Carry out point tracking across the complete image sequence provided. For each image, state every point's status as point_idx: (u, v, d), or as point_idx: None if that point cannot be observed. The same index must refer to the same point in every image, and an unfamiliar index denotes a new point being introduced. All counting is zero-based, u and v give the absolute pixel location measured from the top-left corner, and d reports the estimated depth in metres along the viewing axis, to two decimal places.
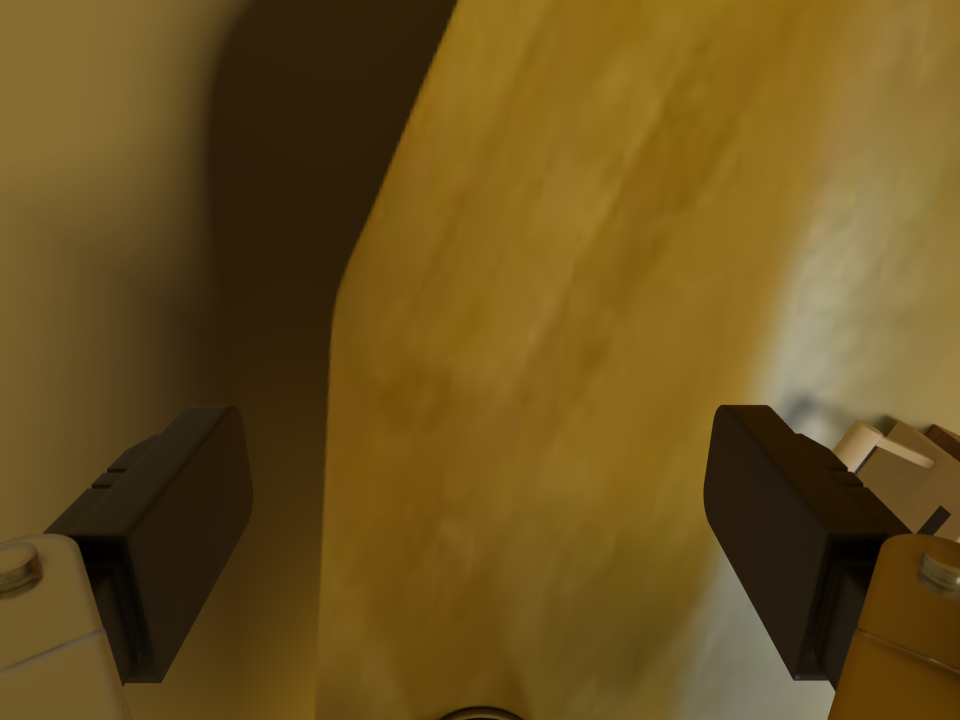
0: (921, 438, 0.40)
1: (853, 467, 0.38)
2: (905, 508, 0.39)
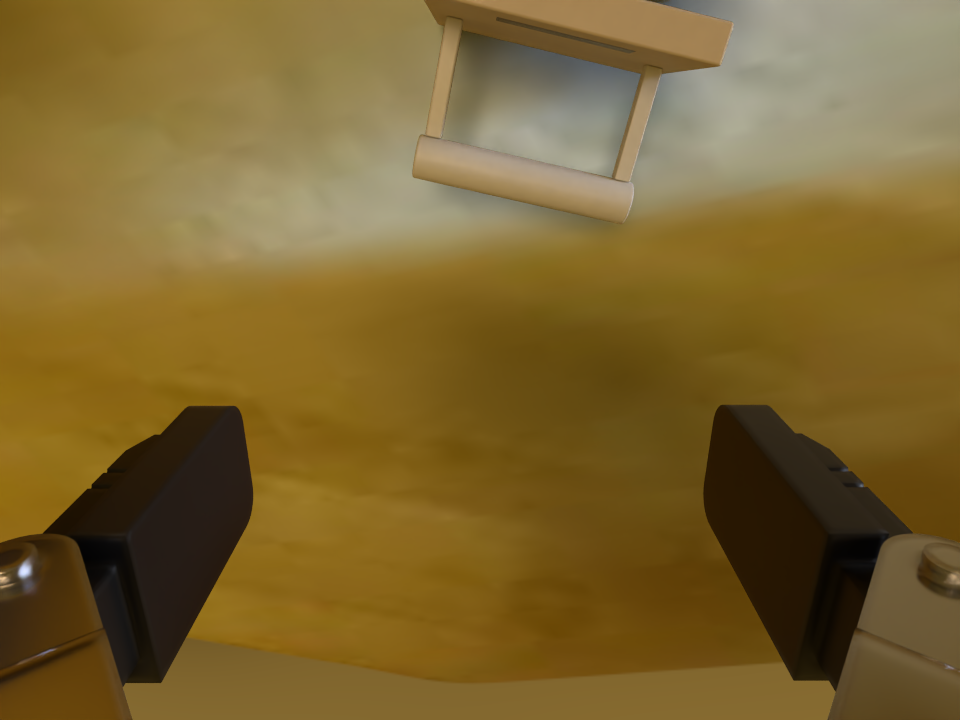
0: (434, 16, 0.24)
1: (480, 167, 0.24)
2: (539, 36, 0.22)
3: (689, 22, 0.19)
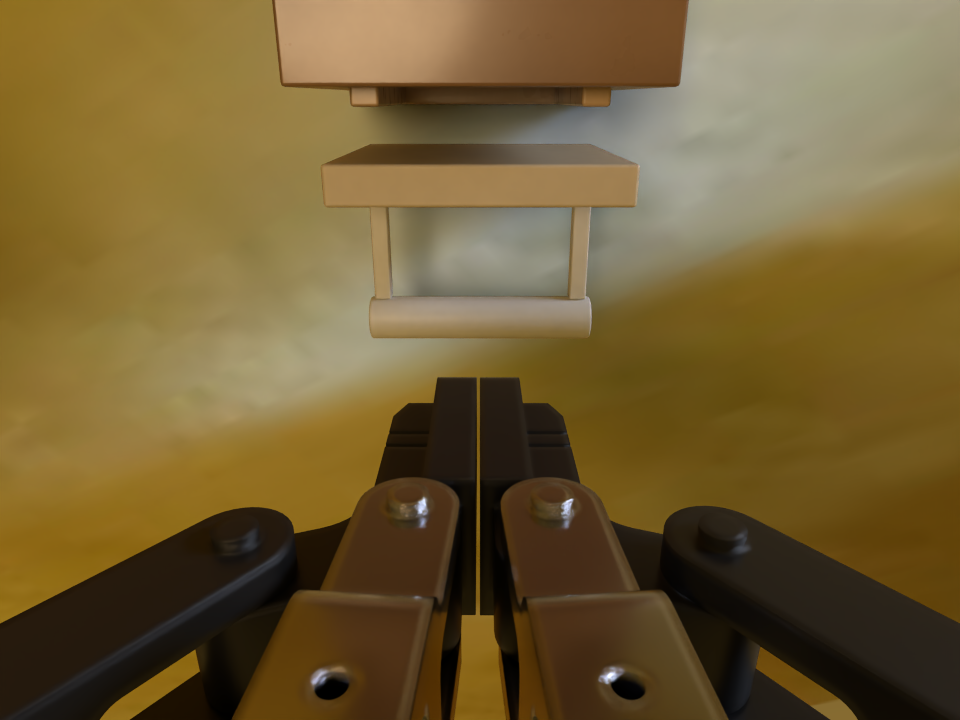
0: None
1: (434, 319, 0.24)
2: None
3: (594, 174, 0.19)
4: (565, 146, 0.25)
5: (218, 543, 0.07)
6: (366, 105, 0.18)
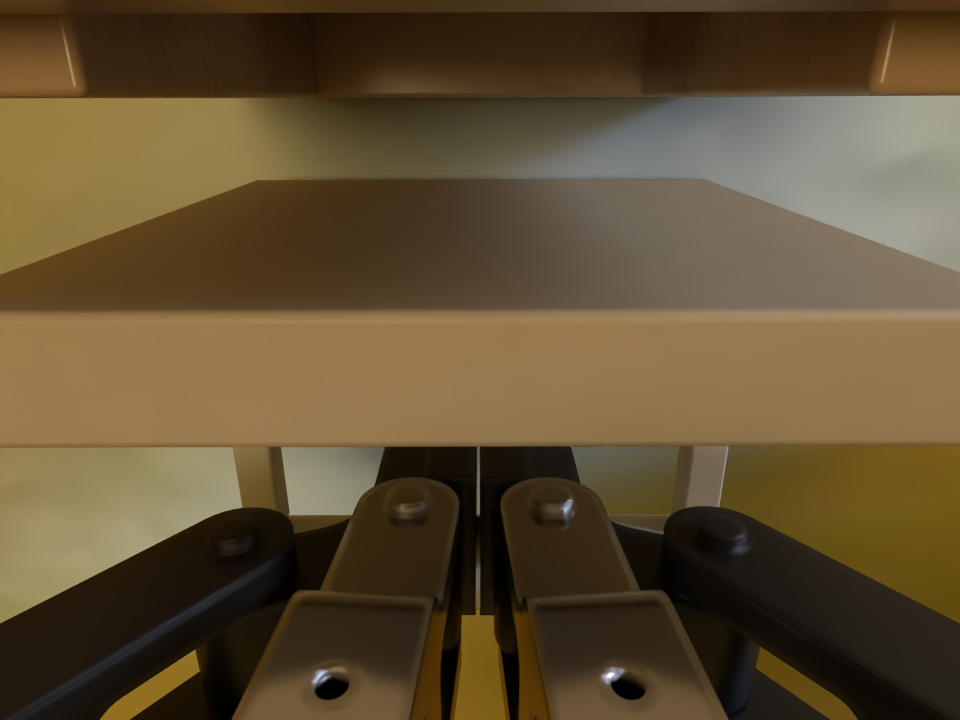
0: None
1: None
2: None
3: (894, 345, 0.05)
4: (663, 188, 0.12)
5: (219, 543, 0.07)
6: (39, 92, 0.05)
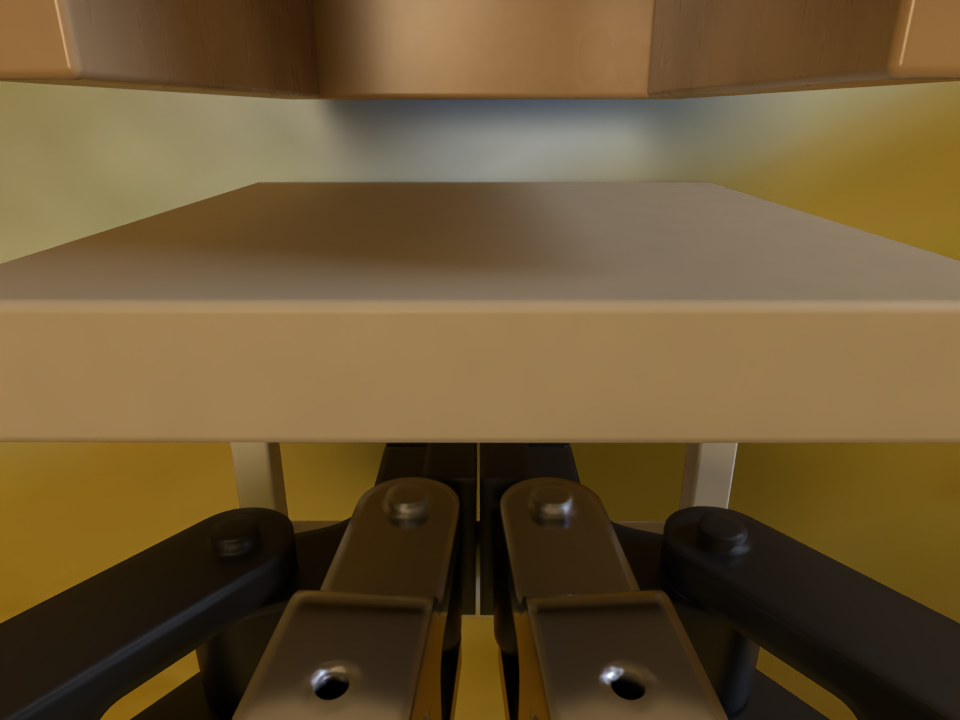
0: None
1: None
2: None
3: (914, 338, 0.05)
4: (668, 190, 0.12)
5: (219, 544, 0.07)
6: (34, 74, 0.05)
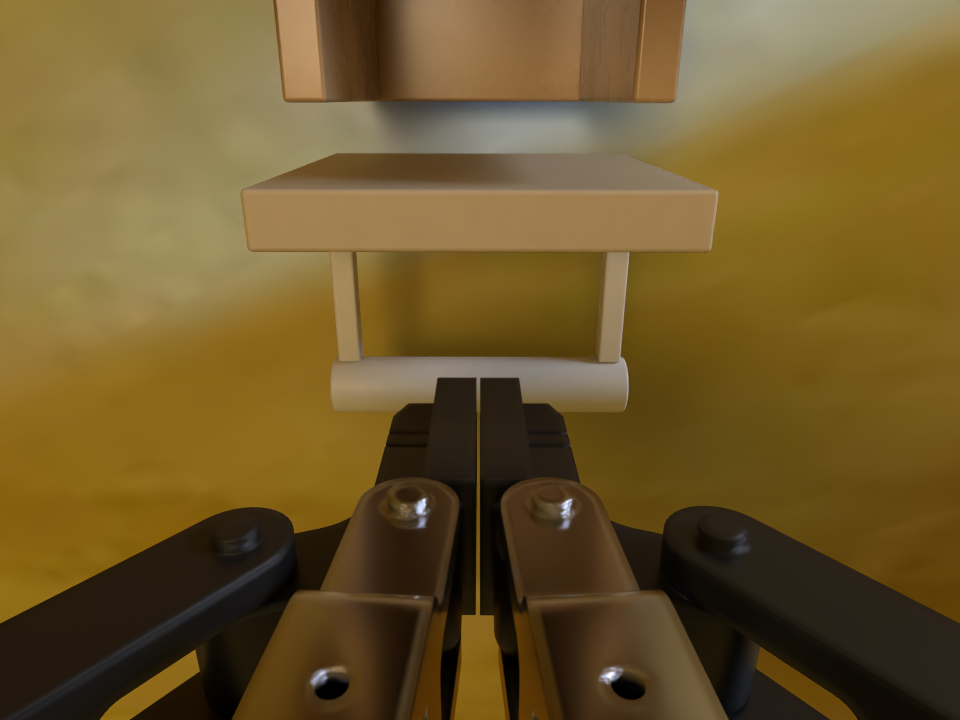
0: None
1: (417, 390, 0.18)
2: None
3: (650, 205, 0.12)
4: (592, 157, 0.19)
5: (219, 544, 0.07)
6: (308, 100, 0.12)
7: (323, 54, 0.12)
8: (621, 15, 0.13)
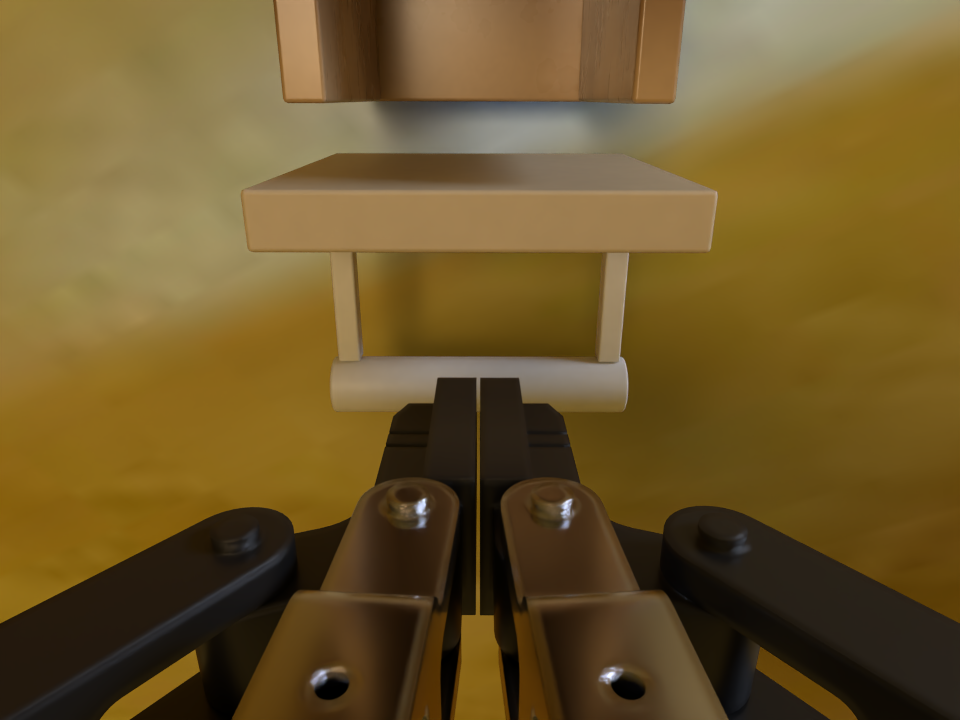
0: None
1: (417, 389, 0.18)
2: None
3: (649, 205, 0.12)
4: (592, 157, 0.19)
5: (219, 544, 0.07)
6: (308, 101, 0.12)
7: (323, 55, 0.12)
8: (621, 16, 0.13)
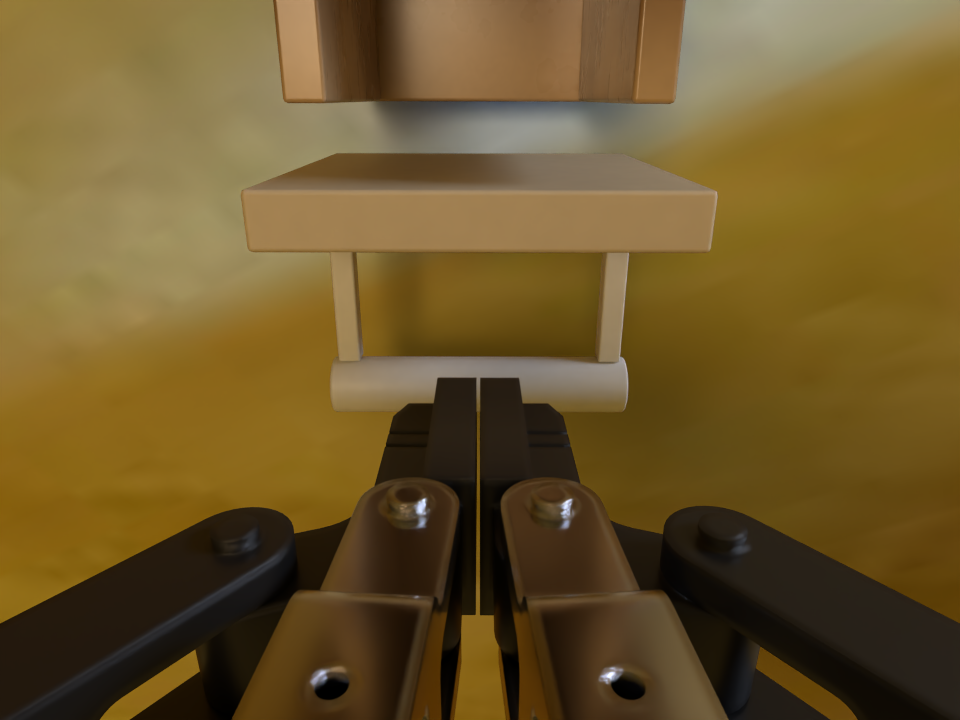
0: None
1: (417, 389, 0.18)
2: None
3: (649, 206, 0.12)
4: (592, 157, 0.19)
5: (219, 544, 0.07)
6: (308, 101, 0.12)
7: (323, 55, 0.12)
8: (621, 16, 0.13)
